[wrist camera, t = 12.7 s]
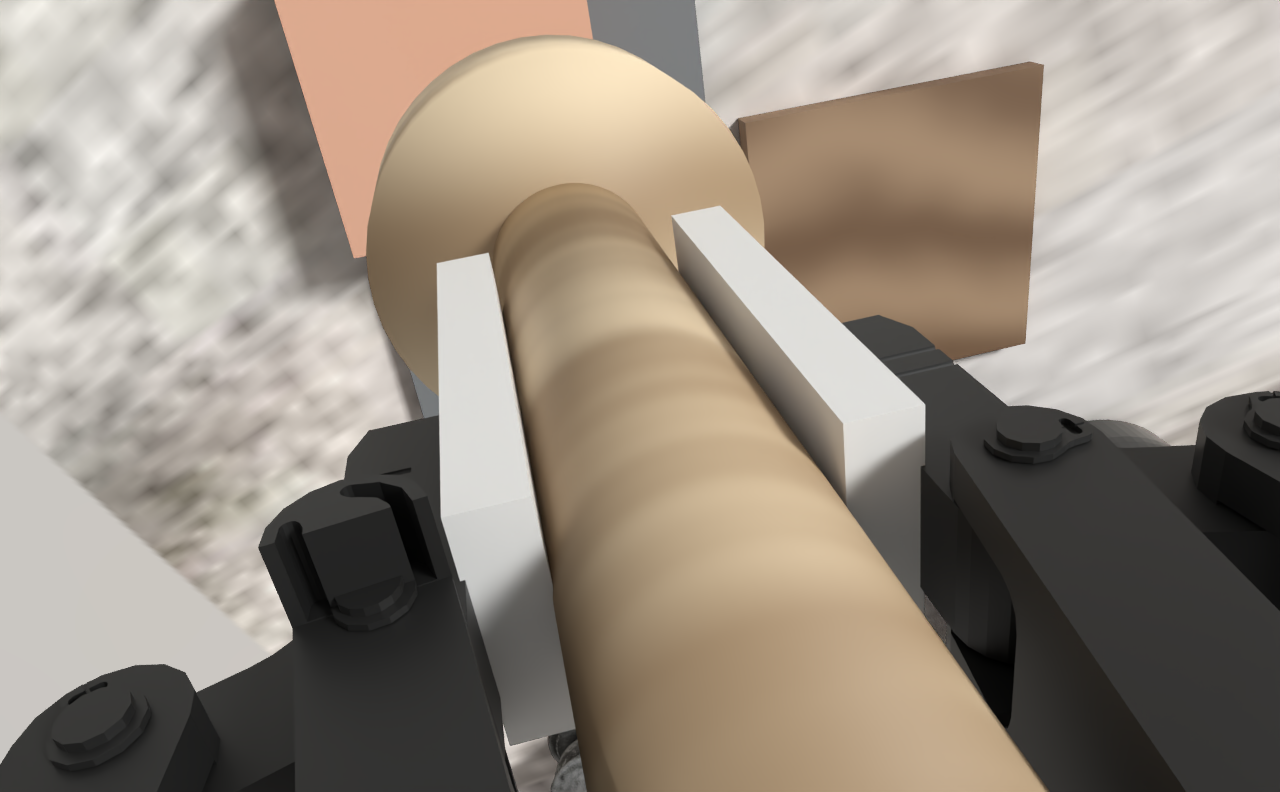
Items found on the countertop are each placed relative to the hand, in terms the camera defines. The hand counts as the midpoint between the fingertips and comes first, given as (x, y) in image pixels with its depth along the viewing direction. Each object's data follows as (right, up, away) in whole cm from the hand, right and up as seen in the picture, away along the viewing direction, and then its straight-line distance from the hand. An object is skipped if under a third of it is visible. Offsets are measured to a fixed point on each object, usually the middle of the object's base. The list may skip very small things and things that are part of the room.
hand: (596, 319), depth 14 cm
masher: (-1, +2, +4) cm, 5 cm away
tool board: (+12, +6, +28) cm, 31 cm away
